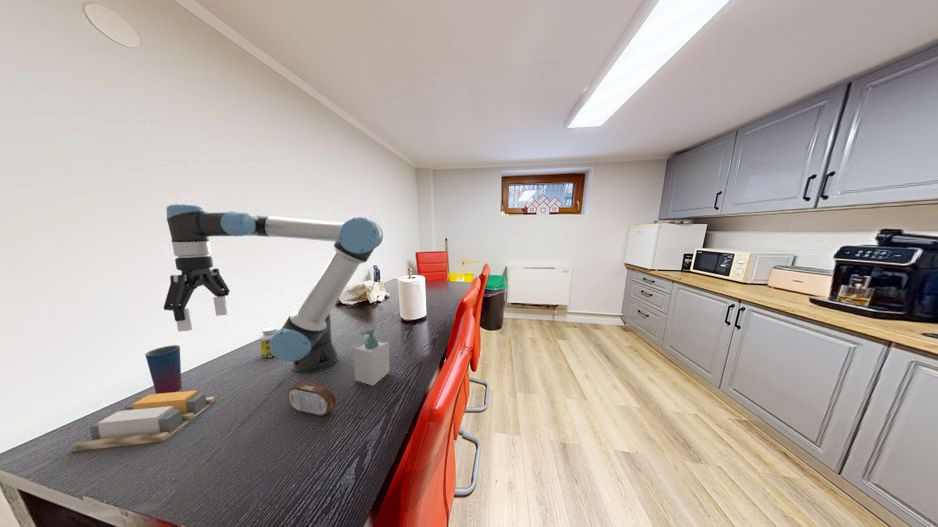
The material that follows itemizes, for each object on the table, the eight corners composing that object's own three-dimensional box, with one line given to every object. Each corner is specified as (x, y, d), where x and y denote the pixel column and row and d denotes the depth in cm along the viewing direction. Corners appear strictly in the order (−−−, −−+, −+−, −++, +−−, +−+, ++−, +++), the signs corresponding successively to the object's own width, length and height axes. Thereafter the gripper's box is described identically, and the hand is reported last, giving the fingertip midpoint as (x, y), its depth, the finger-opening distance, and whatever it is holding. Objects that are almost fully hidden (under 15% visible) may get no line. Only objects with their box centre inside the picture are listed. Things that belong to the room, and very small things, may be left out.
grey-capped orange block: (126, 421, 65) (123, 404, 64) (143, 410, 69) (140, 395, 68) (195, 414, 68) (192, 398, 67) (207, 405, 72) (205, 389, 71)
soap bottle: (354, 381, 85) (351, 331, 83) (372, 368, 94) (370, 322, 91) (372, 387, 82) (370, 335, 80) (389, 373, 90) (388, 326, 88)
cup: (162, 402, 74) (154, 356, 72) (146, 398, 75) (139, 354, 73) (191, 388, 80) (185, 346, 79) (176, 385, 82) (170, 344, 80)
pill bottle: (261, 359, 99) (259, 333, 97) (262, 353, 104) (259, 328, 102) (281, 355, 103) (279, 329, 101) (281, 349, 108) (279, 325, 106)
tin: (337, 412, 71) (335, 386, 70) (328, 420, 68) (327, 393, 67) (296, 403, 74) (294, 378, 73) (286, 410, 71) (284, 384, 70)
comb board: (215, 403, 74) (214, 396, 73) (164, 443, 59) (163, 435, 59) (145, 409, 71) (144, 402, 70) (73, 454, 56) (71, 445, 56)
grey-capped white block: (184, 421, 65) (181, 405, 65) (168, 433, 61) (166, 416, 61) (111, 429, 62) (108, 412, 62) (90, 442, 59) (87, 424, 58)
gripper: (212, 253, 84) (221, 310, 87) (131, 261, 60) (147, 340, 63) (237, 252, 86) (245, 309, 89) (168, 260, 62) (183, 337, 65)
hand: (205, 322), depth 76 cm, fingers open, 13 cm apart
